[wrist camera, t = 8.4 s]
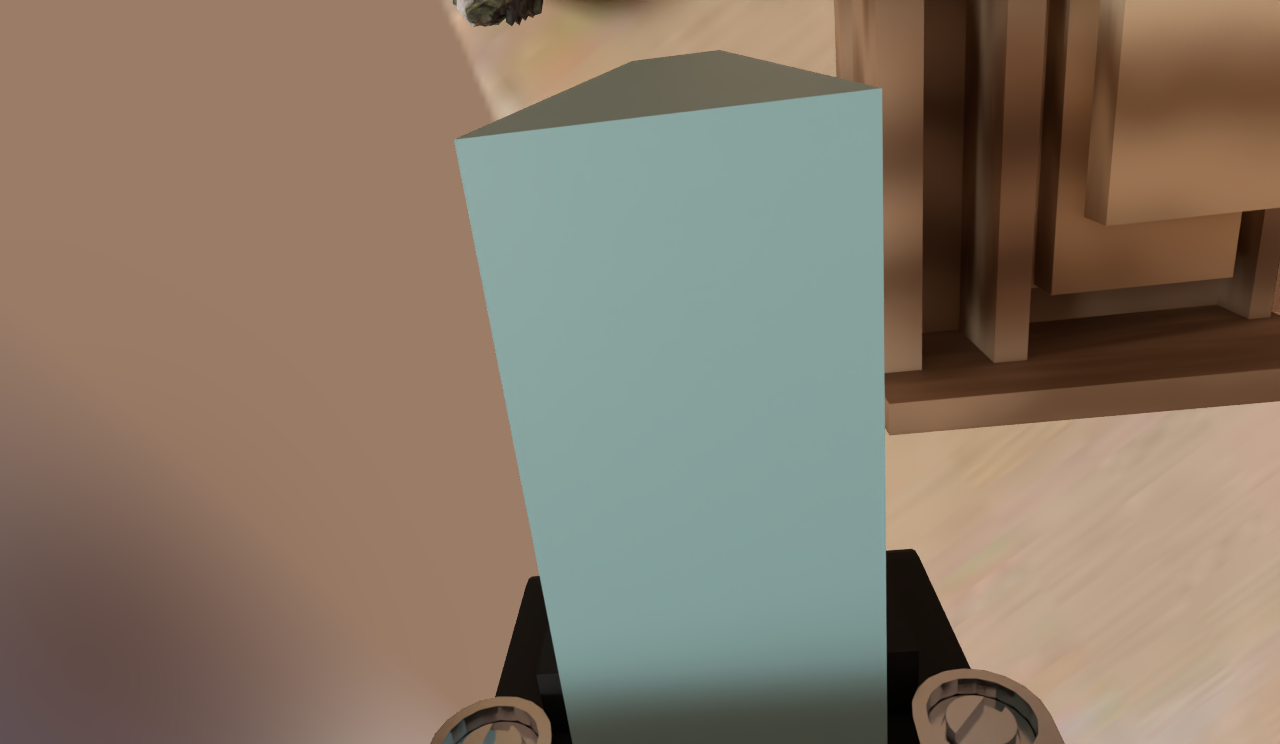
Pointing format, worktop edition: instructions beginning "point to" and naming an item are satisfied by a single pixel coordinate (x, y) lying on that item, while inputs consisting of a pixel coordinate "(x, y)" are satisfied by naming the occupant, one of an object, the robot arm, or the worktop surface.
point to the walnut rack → (1022, 246)
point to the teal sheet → (697, 393)
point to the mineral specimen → (497, 11)
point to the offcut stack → (1153, 139)
